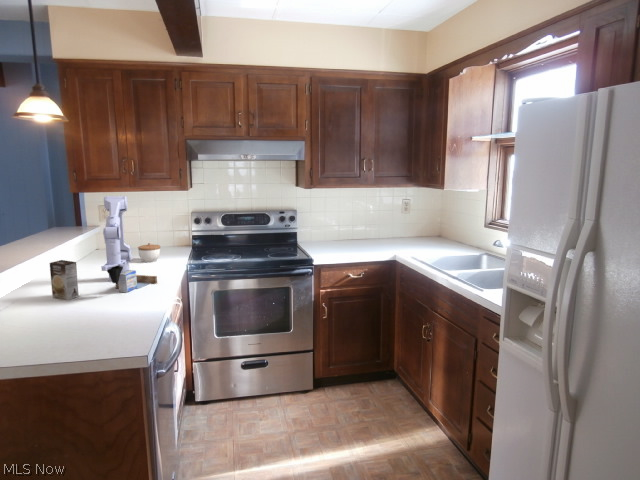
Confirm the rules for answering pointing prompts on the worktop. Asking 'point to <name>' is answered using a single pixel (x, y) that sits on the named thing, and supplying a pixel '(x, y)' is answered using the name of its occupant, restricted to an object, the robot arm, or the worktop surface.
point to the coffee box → (64, 279)
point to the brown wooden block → (144, 279)
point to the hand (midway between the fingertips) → (115, 282)
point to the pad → (141, 284)
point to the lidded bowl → (149, 252)
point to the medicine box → (127, 281)
